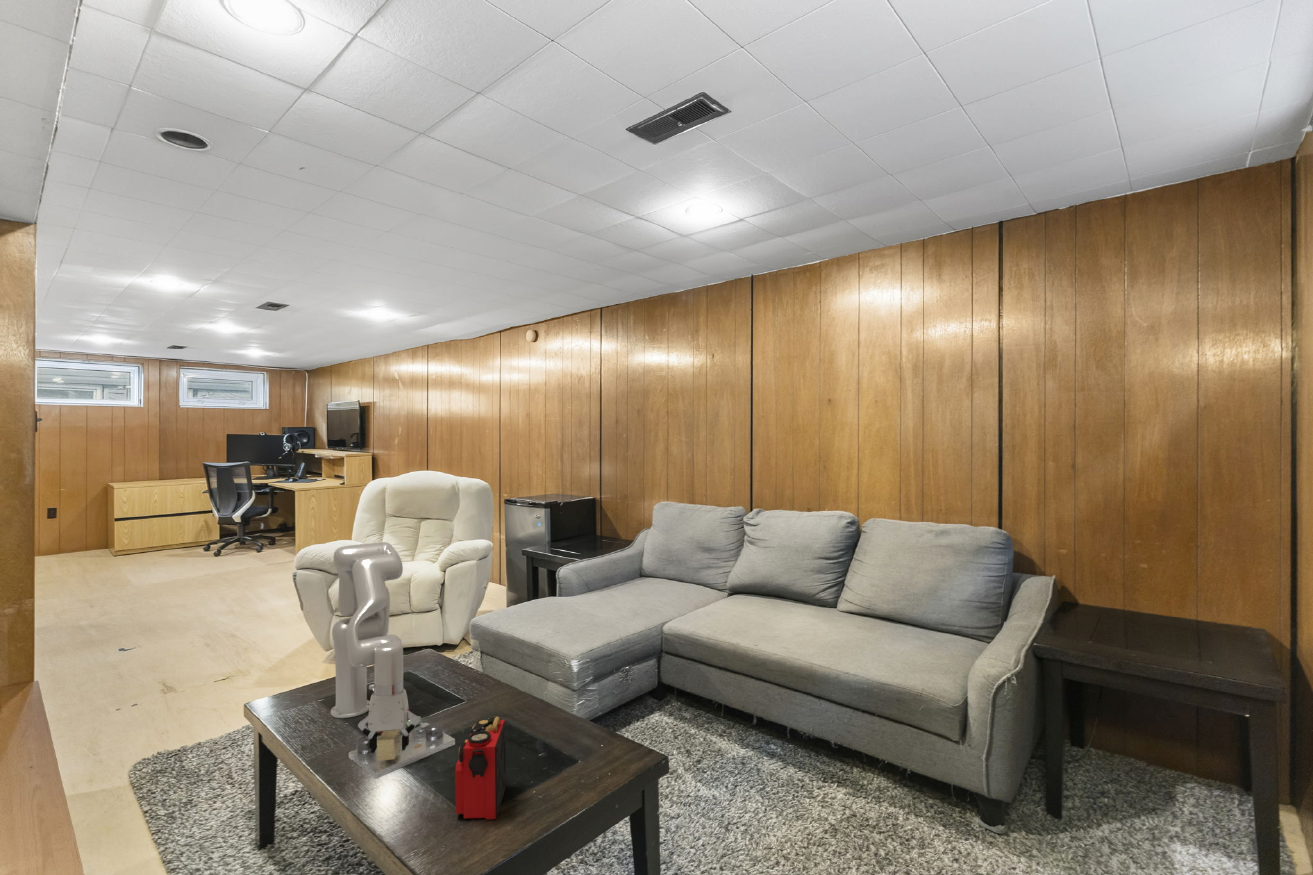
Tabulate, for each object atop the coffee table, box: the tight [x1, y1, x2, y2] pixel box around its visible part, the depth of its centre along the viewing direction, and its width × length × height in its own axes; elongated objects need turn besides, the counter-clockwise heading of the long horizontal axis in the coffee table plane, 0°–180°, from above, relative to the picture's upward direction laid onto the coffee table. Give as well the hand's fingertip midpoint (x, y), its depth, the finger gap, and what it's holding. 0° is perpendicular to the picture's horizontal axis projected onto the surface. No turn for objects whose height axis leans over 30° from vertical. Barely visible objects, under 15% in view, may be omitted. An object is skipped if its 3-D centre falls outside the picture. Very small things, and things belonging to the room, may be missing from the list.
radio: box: [454, 716, 507, 820], centre depth 153 cm, size 16×10×20 cm, turn 5°
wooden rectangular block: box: [377, 730, 401, 761], centre depth 174 cm, size 10×4×7 cm, turn 10°
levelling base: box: [348, 715, 456, 779], centre depth 180 cm, size 17×24×6 cm
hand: (389, 749), depth 173 cm, fingers open, 7 cm apart
